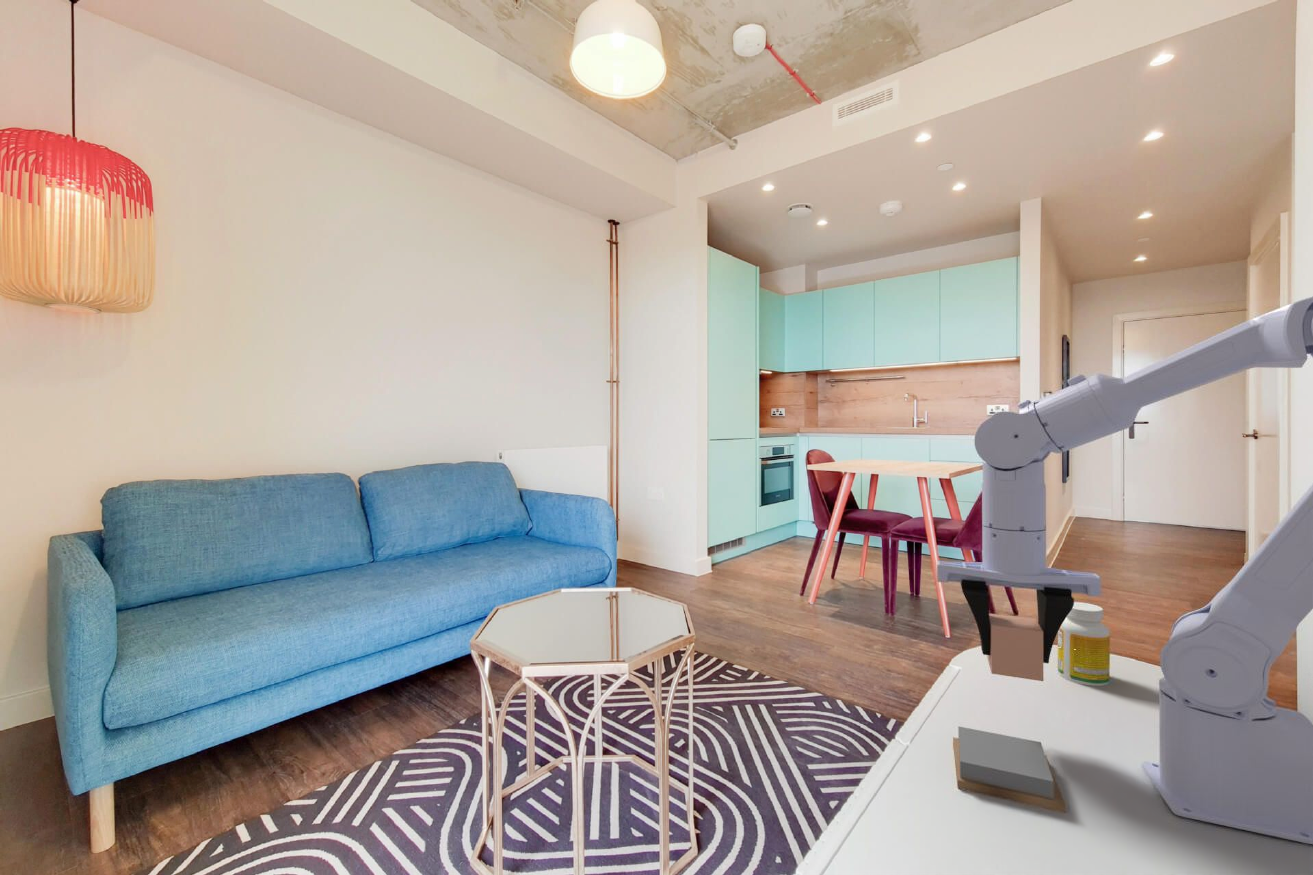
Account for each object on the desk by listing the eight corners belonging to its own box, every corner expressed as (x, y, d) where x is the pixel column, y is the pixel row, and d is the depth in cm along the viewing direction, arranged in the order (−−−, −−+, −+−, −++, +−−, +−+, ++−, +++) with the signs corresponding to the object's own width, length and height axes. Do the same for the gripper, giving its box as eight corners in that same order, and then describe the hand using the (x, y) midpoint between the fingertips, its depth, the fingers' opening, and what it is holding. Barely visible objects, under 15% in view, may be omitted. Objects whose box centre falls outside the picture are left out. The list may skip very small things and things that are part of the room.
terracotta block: (1035, 664, 61) (1035, 618, 61) (1043, 681, 57) (1043, 631, 57) (987, 658, 63) (987, 613, 63) (991, 673, 59) (991, 625, 59)
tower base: (1046, 770, 55) (1046, 755, 55) (1065, 821, 48) (1065, 803, 48) (953, 751, 58) (953, 737, 58) (957, 796, 51) (957, 779, 51)
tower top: (1041, 757, 55) (1040, 742, 55) (1053, 799, 48) (1053, 781, 48) (958, 740, 58) (958, 726, 58) (960, 777, 51) (960, 761, 51)
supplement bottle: (1047, 673, 75) (1047, 601, 75) (1080, 669, 77) (1080, 598, 77) (1086, 691, 70) (1086, 613, 70) (1121, 687, 71) (1120, 610, 71)
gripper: (1087, 525, 61) (1088, 653, 61) (936, 518, 67) (936, 633, 67) (1107, 536, 54) (1107, 678, 54) (937, 527, 60) (938, 654, 60)
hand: (1013, 655), depth 60 cm, fingers closed on terracotta block, 4 cm apart
